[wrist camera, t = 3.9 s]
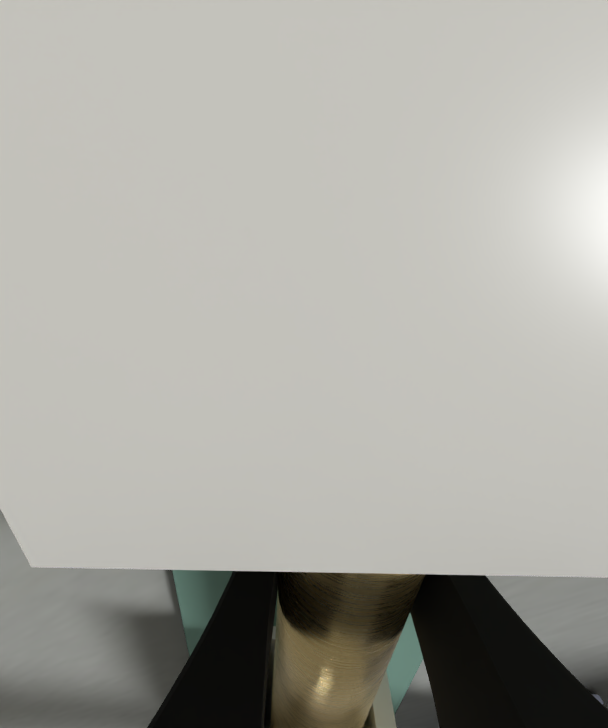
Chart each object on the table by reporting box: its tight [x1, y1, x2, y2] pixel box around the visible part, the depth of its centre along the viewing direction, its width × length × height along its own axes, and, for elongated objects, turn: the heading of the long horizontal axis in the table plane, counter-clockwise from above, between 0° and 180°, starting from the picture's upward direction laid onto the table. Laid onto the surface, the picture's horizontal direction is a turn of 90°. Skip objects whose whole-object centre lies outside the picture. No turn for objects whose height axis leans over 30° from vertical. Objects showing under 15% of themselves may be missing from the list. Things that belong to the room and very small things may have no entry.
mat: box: [172, 570, 423, 715], centre depth 15 cm, size 32×12×1 cm, turn 176°
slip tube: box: [270, 572, 426, 728], centre depth 11 cm, size 21×4×4 cm, turn 176°
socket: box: [0, 0, 608, 578], centre depth 5 cm, size 5×9×6 cm, turn 86°
